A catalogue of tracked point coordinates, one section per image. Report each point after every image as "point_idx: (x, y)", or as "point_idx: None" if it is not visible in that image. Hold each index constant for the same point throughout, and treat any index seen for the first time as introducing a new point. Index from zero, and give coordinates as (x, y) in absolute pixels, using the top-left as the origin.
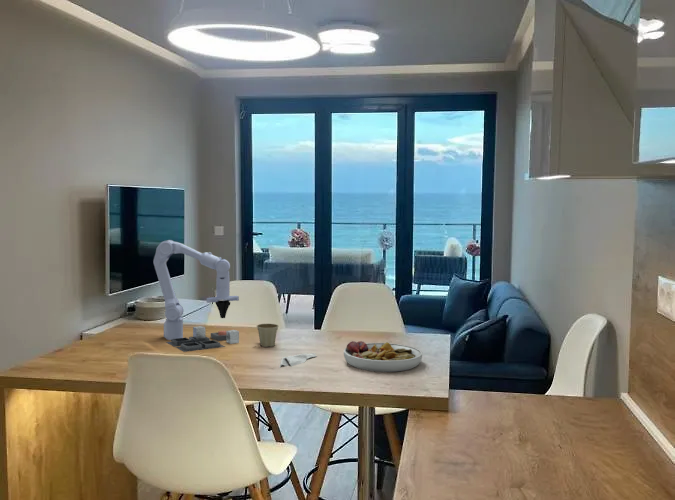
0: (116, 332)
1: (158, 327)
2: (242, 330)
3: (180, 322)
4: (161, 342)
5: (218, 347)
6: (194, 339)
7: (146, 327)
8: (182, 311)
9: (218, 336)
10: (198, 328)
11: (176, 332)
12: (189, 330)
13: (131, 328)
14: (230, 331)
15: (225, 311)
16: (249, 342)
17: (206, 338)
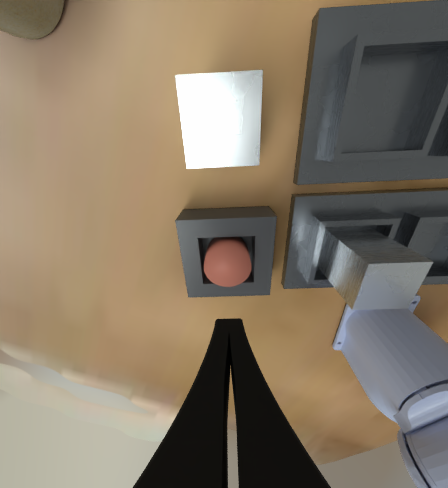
0: None
1: (302, 430)
2: (110, 348)
3: (437, 373)
4: (424, 310)
5: (373, 9)
6: (398, 225)
7: (324, 436)
8: (433, 468)
9: (274, 216)
10: (418, 261)
11: (417, 326)
12: None
13: (355, 438)
14: (245, 113)
15: (214, 374)
16: (121, 145)
17: (336, 220)
